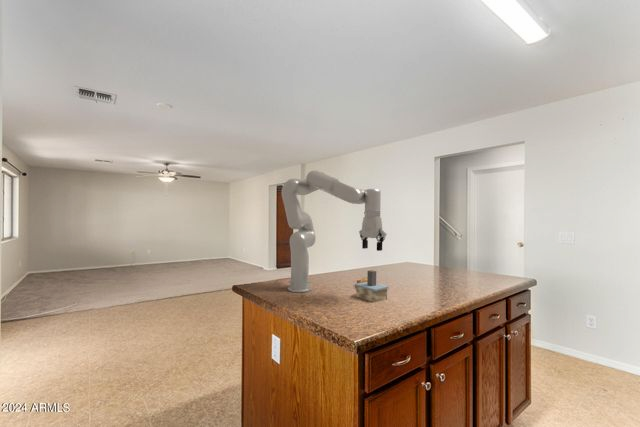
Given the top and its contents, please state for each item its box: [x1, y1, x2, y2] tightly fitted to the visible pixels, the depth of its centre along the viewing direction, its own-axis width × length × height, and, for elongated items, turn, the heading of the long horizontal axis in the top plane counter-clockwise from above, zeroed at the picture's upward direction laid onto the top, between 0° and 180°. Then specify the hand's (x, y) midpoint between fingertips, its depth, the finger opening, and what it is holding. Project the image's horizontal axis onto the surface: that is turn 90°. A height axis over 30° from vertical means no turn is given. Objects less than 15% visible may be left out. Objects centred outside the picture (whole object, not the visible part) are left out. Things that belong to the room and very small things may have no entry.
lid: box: [354, 269, 390, 291], centre depth 157 cm, size 13×10×8 cm
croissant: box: [356, 276, 368, 284], centre depth 175 cm, size 21×10×8 cm, turn 23°
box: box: [355, 286, 388, 303], centre depth 157 cm, size 12×9×6 cm
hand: (372, 249), depth 156 cm, fingers open, 9 cm apart
